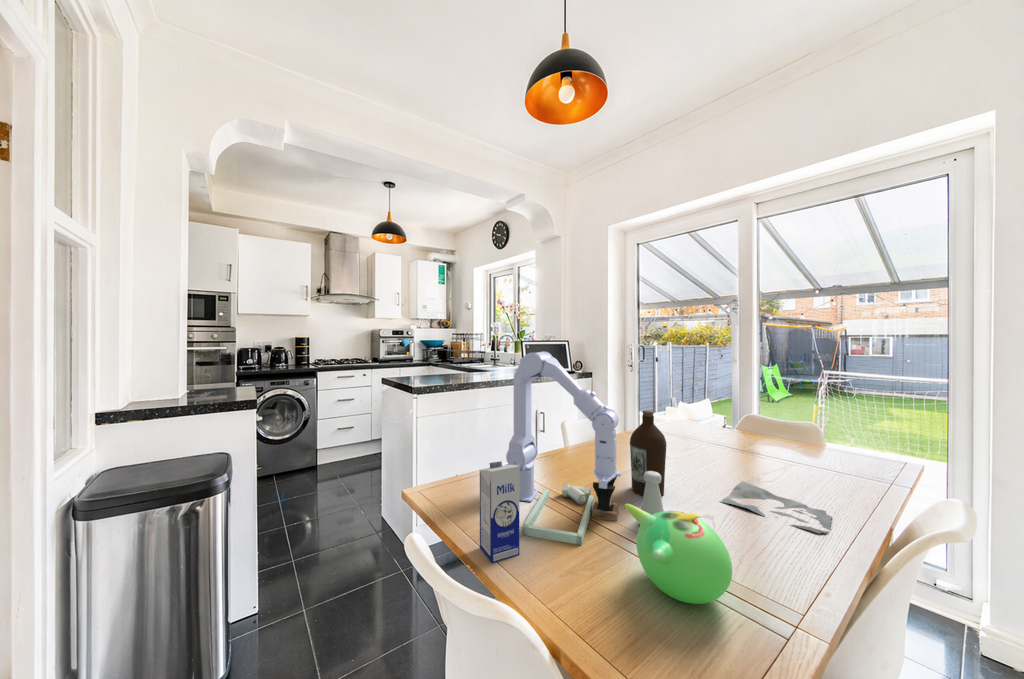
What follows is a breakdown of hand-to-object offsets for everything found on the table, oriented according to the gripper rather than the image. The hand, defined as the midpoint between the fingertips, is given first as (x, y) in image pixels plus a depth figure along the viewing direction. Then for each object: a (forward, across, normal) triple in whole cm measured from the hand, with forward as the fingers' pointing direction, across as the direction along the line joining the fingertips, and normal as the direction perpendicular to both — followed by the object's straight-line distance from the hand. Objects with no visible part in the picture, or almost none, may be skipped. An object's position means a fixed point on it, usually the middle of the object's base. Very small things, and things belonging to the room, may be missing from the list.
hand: (605, 504), depth 104 cm
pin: (+2, 0, 0) cm, 2 cm away
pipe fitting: (+3, +6, +9) cm, 11 cm away
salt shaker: (+3, -1, -12) cm, 12 cm away
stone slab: (+3, +18, -45) cm, 49 cm away
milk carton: (+3, -26, +21) cm, 34 cm away
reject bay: (+2, -6, +11) cm, 13 cm away
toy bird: (+3, -27, -16) cm, 31 cm away
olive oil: (+3, +19, -11) cm, 22 cm away
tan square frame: (+2, 0, 0) cm, 2 cm away
